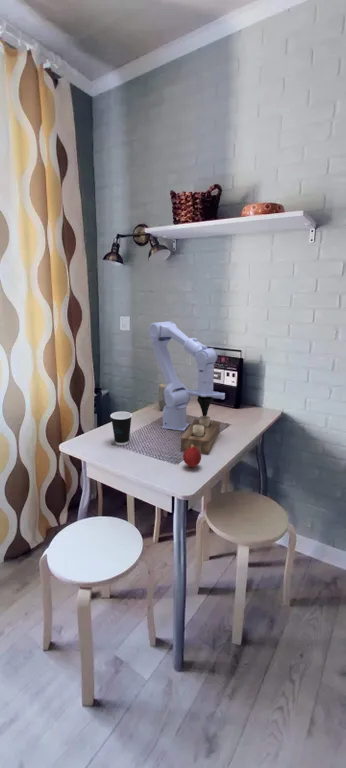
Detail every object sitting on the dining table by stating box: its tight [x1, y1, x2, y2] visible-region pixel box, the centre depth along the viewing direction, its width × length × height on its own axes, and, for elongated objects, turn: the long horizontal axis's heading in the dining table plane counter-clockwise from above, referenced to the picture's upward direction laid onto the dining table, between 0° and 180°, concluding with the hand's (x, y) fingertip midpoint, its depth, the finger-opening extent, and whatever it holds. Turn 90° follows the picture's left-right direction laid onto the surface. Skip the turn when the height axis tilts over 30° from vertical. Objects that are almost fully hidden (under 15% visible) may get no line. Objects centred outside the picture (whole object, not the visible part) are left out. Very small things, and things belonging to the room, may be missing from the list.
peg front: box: [193, 425, 204, 437], centre depth 140 cm, size 4×4×4 cm
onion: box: [182, 445, 202, 469], centre depth 125 cm, size 6×6×8 cm
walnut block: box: [180, 418, 221, 455], centre depth 146 cm, size 10×20×5 cm, turn 162°
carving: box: [157, 383, 167, 411], centre depth 181 cm, size 6×8×12 cm
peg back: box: [198, 415, 211, 428], centre depth 149 cm, size 4×4×4 cm
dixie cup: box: [109, 411, 133, 446], centre depth 144 cm, size 8×8×11 cm
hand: (204, 415), depth 149 cm, fingers closed
